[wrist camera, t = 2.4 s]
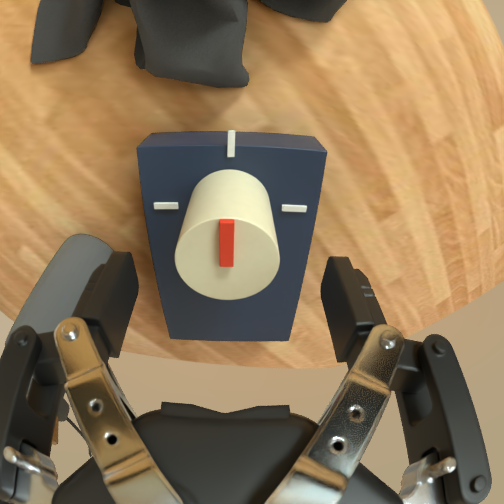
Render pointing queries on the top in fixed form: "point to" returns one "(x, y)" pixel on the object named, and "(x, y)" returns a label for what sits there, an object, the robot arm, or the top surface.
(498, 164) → the top surface
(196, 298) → the panel
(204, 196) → the knob
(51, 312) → the bottle
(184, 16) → the cloth
